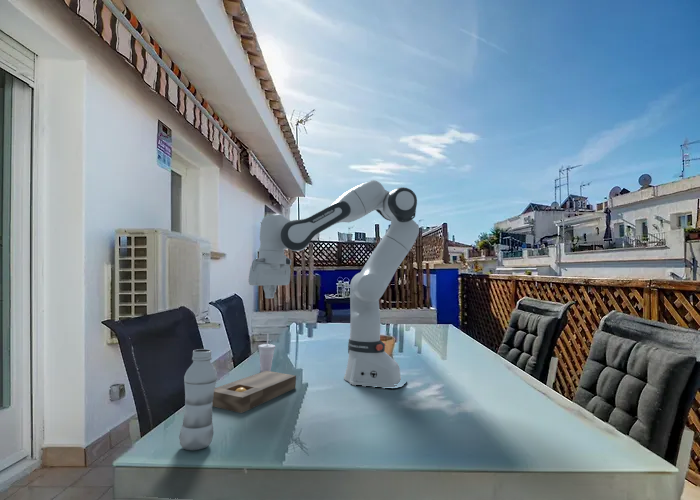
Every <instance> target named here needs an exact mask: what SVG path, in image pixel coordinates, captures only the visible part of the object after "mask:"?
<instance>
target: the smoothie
mask: <svg viewBox="0 0 700 500" xmlns="http://www.w3.org/2000/svg"><path fill="white" fill-rule="evenodd" d="M266 335H267V336H266V343H263V344H258V348H257V349H258V352H259V353H258V354H259V364H260V367H259V368H260V373H261V372H264V371H271V372H272V365H273V359H274V354H275V349H276V345H275V344H272V343H271V344H270V343H269V341H270V340H269V338H270V337H269V336H270V333H267V334H266Z"/></svg>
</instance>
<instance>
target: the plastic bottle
mask: <svg viewBox="0 0 700 500" xmlns="http://www.w3.org/2000/svg"><path fill="white" fill-rule="evenodd" d="M212 359H213V357H212V349H207V348H199V349H194V350H193V351H192V357H191V361H192V363H191V364H190V366H189V367H188V368H187V369H186V370H185V371H186V372H185V374H184V376H183V379H184V381H183V384H184V394H185V395H184V399H185V400H184V402H185V403H184V413H183V418H182V425H181V428H180V431H179V435H178V436H179V437H178V438H179V444H180V446H181V447H182V449H183V450H186V451H199V450H203V449H205V448H207V447H208V446H210V444H211V442H212V441H213V438H214V432H215V431H214V424H213V406H212V404H213V402H212V401H213V396H214V390H215V388H216V384H217V379H218V373H217V369H216V368H215V366H214V365H213V364H212V362H211V361H212Z"/></svg>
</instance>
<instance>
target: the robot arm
mask: <svg viewBox="0 0 700 500" xmlns="http://www.w3.org/2000/svg"><path fill="white" fill-rule="evenodd" d="M417 205H418V199H417V195H416V193H415V192H414V191H413V190H412V189H411V188H407V187H405V186H404V187H402V186H401V187H397V188H394V189H393V190H392V191H391V190H390V191H387V190H386V189H385V187H384V185H383V184H382V183H380V182H379V181H377V180H374V179H372V180H369V181H366V182H363V183H361V184H359V185H356V186H355V187H353V188H351V189H349V190H347V191H345V192H344V193H343V194H342V195H340V196H339V197H338V198H336V200H334V201H333V202H332V203H331V204H330V205H328V206H327V207H326V208H324V209H322V210H319V211H318V212H316V213H314V214H313V215H311V216H309V217H306V218H301V219H294V220H290V219H288V218H287V217H286V216H285V215H284V214H282V213H273V214H268V215H265V216H264V217H263V218H262V219H261V222H260V229H259V230H260V231H259V241H260V245H259V249H258V257H255V258H254V259H253V261H251V266H250V268H249V274H248V284H249V286H254V287H255V286H259V287H260V286H261V287H263V288H262V289H263V291H264V298H265V299H274V298H275V293H276V291H277V289H278V288H277V286H289V284H290V282H291V265H292V259H291V258H289V257H287V255H286V254H285V250H290V251H293V252H301V251H304V250H306V248H308V246H309V245H310V242H311V241H312V240H313V238H315V236H316V235H318V234H319V233H321V232H323V231H325V230H327V229H328V228H330V227H332V226H334V225H336V224H339V223H348V224H349V223H351V222H354V221H357V220H359V219H362V218H363V217H365V216H367V215H369V214H370V213H372V212H373V211H376V212H377V213H378V214H379V215H380V216H381V217H382V218H383V219H384V220H386V221H389V222H390V226H389V228H388V230H387V231H386V233H385V234H384V235H383V236H382V238H381V240H380V241H379V242H378V243H377V244H376V245H377V246H376V247H375V248H374V249H373V251H372V253H371V254H370V256H369V258H368V259H367V260H366V262H365V264H364V265H363V267H362V269H361V271H360V272H358V273H356V274H355V275H354V276H353V277H352V279H351V280H350V285H349V286H350V287H349V288H350V290H349V292H350V293H349V294H350V295H349V300H350V301H349V302H350V303H349V304H350V305H349V306H350V308H349V309H350V311H349V313H350V320H349V321H350V326H349V339H348V342H347V343H348V344H347V353H348V358H347V365H346V369H345V373H344V376H343V380H345V381H347V382H349V384H350V385H351V384H352V385H351V386H356V385H362V386H361V387H366V386H377V387H395V386H397V385H394V384H398V383H399V382H400V380H401V377H402V375H401V369H400V365H399V363H398V362H397V361H396V360H394V358H393V357H391V356H390V355H389V354H388V353H387V352H386V351H385V348H386V346H387V345H386V344H387V342H383V341H382V340H381V319H382V318H381V310H380V299H381V298H382V296H383V295H384V293H385V292H386V290H387V288H388V286H389V284H390V282H391V281H392V280H393V277H394V276H395V273H396V272H397V270H398V268H399V267H400V265H401V264H402V262H403V261H404V259H405V258H406V256H407V255H408V254H409V253H410V251H411V250H412V248H413V246H414V244H415V243H416V240H417V239H418V236H419V233H420V228H419V225H418V223H417V222H416V221H415V220H414V218H415V217H416V213H417Z"/></svg>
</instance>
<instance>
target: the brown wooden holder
mask: <svg viewBox="0 0 700 500" xmlns="http://www.w3.org/2000/svg"><path fill="white" fill-rule="evenodd" d="M296 381H297V375H293V374H288V373H283V372H276V371H272V370H271V371H264V372H261V371H260V372H259V373H255V374H252V375H250V376H246V377H244V378H241V379H238V380H235V381H231V382H229V383H225V384H222V385H220V386H216V387H215V390H214V396H213V401H212V402H213V404H212V408H213V407H214V408H218V409H223V410H226V411H231V412H235V413H239V414H242V413H245V412H247V411H249V410H251V409H254V408H255V407H258V406H260V405H262V404H264V403H267V402H269V401H272V400H273V399H275V398H277V397H279V396H282V395H284V394H286V393H288V392H290V391H292V390H295V389H296V387H297V386H296ZM241 387H243V388H245V389H246V391H243V392H237V391H235V390H236V389H238V388H241Z"/></svg>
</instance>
